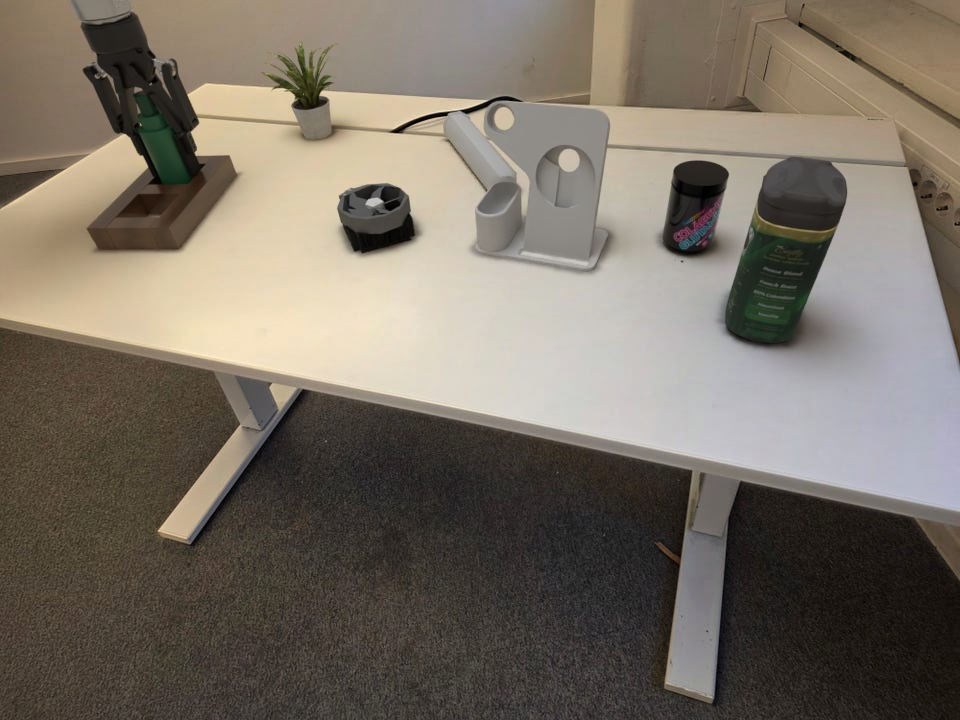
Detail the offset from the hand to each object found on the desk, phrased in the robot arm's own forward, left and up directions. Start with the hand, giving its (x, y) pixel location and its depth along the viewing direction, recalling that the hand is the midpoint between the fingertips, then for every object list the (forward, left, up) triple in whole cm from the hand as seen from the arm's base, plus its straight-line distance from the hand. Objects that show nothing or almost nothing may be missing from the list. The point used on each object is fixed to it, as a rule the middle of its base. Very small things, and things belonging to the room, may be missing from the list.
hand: (177, 172), depth 100 cm
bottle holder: (0, -5, -4) cm, 7 cm away
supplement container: (+80, -15, -4) cm, 81 cm away
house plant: (+17, +24, -4) cm, 30 cm away
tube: (+49, +8, -4) cm, 50 cm away
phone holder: (+60, -15, -4) cm, 62 cm away
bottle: (0, 0, -4) cm, 4 cm away
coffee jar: (+86, -31, -4) cm, 91 cm away
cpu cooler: (+36, -12, -4) cm, 38 cm away
